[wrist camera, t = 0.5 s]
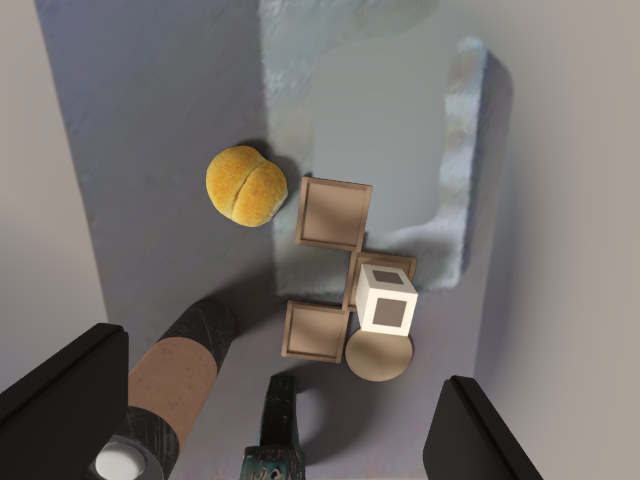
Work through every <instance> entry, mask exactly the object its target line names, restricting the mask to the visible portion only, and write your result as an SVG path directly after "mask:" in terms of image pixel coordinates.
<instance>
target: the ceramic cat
mask: <svg viewBox="0 0 640 480" xmlns="http://www.w3.org/2000/svg"><path fill="white" fill-rule="evenodd" d="M243 459H244V460H243V464H242V469H241V474H240V479H239V480H306V478H305V455H304V453H303V452H302V451H300V444H299V436H298V428H297V417H296V381H295V377H272V376H271V379H270V383H269V387H268V391H267V394H266V397H265V401H264V407H263V413H262V417H261V422H260V429H259V435H258V444H257V446H251V447H246V448H245V450H244V456H243Z"/></svg>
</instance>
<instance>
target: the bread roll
mask: <svg viewBox="0 0 640 480" xmlns="http://www.w3.org/2000/svg"><path fill="white" fill-rule="evenodd" d="M206 185H207V190H208V193H209V196H210V198H211V200H212V202H213V204H214V206H215V207H216V208H217V209H218V210H219V211H220V212H221V213H222V214H223V215H225V216H226V217H228V218H230V219H232V220H233V221H235V222H237V223H238V224H241V225H245V226H250V227H256V226H260V225H262V224H264V223H266V222H268V221H270V220H271V218H272V217H273V216H274V215H275V213H276V212H277V211H278V210H279V208H280V207H281V206H282V204H283V201H284V200H285V199H286V198H287V195H288V191H287V183H286V179H285V176H284V174H283V173H282V172H281V170H280V169H279V168H278V167H277V166H276V165H275V164H274V163H272V162H270V161H267V160H266V159H264V158H263V157H262V156H261V155H260V153H258V152H257V151H256V150H255V149H254V148H252V147H248V146H237V147H232V148H229V149H226V150H224V151H223V152H221V153H220V154H219V155H217V156H216V157H215V158H214V160H213V161H212V162H211V164H210V166H209V168H208V170H207V176H206Z"/></svg>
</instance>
